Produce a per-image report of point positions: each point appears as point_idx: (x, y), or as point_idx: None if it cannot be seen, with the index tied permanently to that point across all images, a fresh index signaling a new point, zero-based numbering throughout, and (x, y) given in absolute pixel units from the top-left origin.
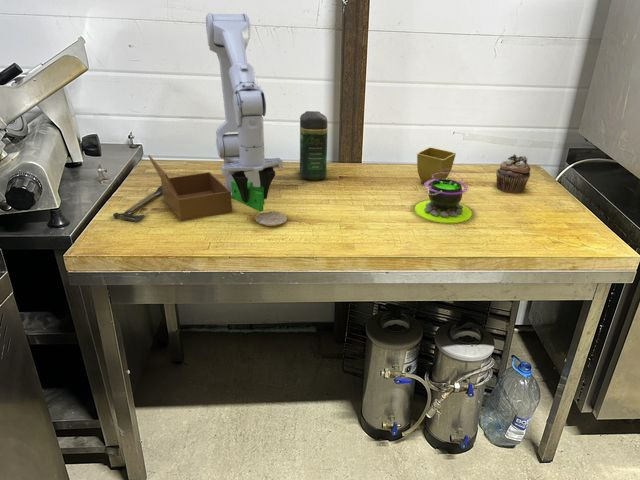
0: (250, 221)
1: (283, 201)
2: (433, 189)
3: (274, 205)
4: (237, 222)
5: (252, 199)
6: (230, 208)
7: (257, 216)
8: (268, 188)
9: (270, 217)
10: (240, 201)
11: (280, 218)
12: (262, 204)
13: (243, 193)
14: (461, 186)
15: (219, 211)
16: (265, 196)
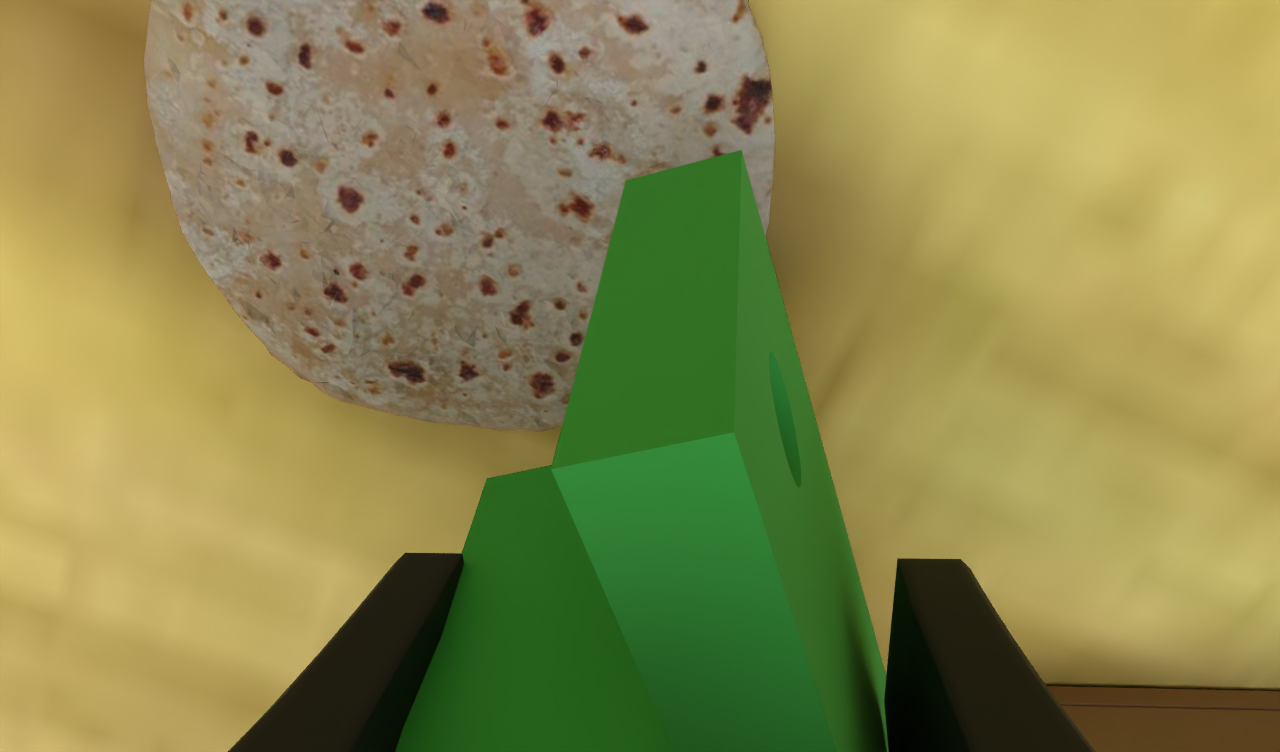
0: (829, 288)
1: (115, 692)
2: None
3: (268, 637)
4: (1052, 339)
5: (820, 536)
6: None
7: None
8: (249, 745)
9: (471, 173)
10: None
11: (284, 31)
12: (631, 255)
13: (1089, 749)
14: None
15: (1138, 718)
16: (415, 591)
